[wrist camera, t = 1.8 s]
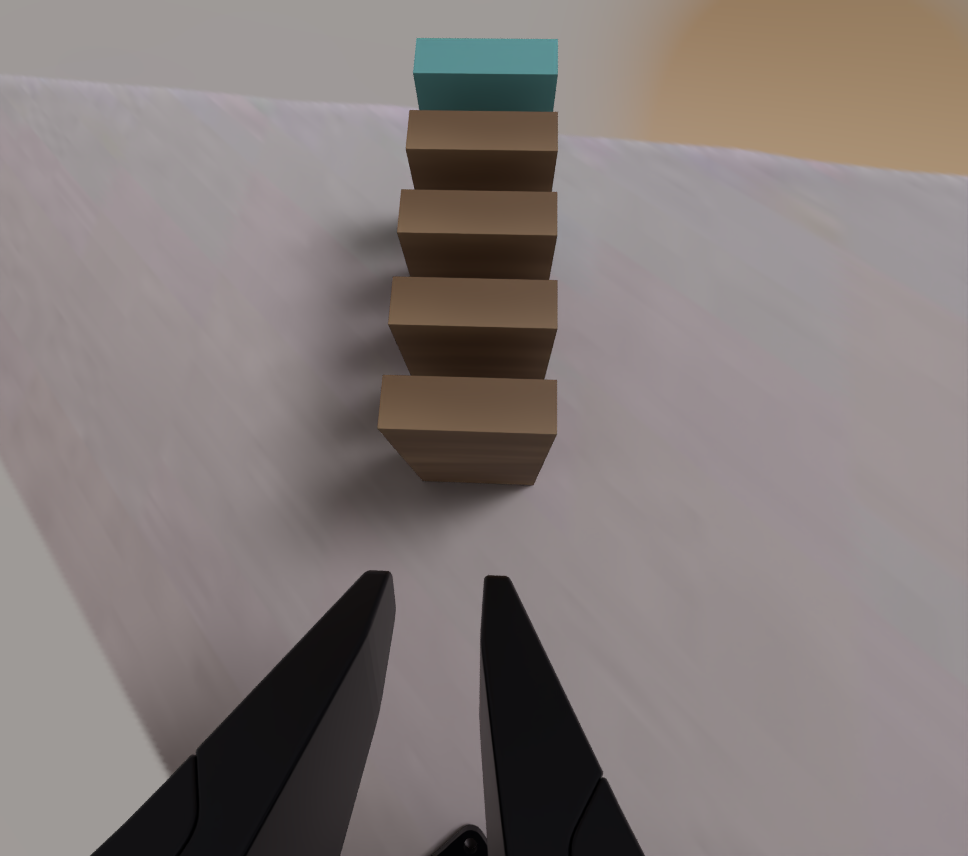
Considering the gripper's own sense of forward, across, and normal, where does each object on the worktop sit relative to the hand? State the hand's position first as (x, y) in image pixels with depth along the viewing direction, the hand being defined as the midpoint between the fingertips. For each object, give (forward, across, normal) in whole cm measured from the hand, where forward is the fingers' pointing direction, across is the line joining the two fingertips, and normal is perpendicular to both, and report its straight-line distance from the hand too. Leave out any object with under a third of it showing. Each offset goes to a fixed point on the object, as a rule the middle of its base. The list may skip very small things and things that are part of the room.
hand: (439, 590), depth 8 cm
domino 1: (+13, 0, +6) cm, 14 cm away
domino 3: (+18, 0, +2) cm, 18 cm away
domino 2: (+15, 0, +4) cm, 16 cm away
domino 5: (+22, 0, -3) cm, 22 cm away
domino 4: (+20, 0, -1) cm, 20 cm away
